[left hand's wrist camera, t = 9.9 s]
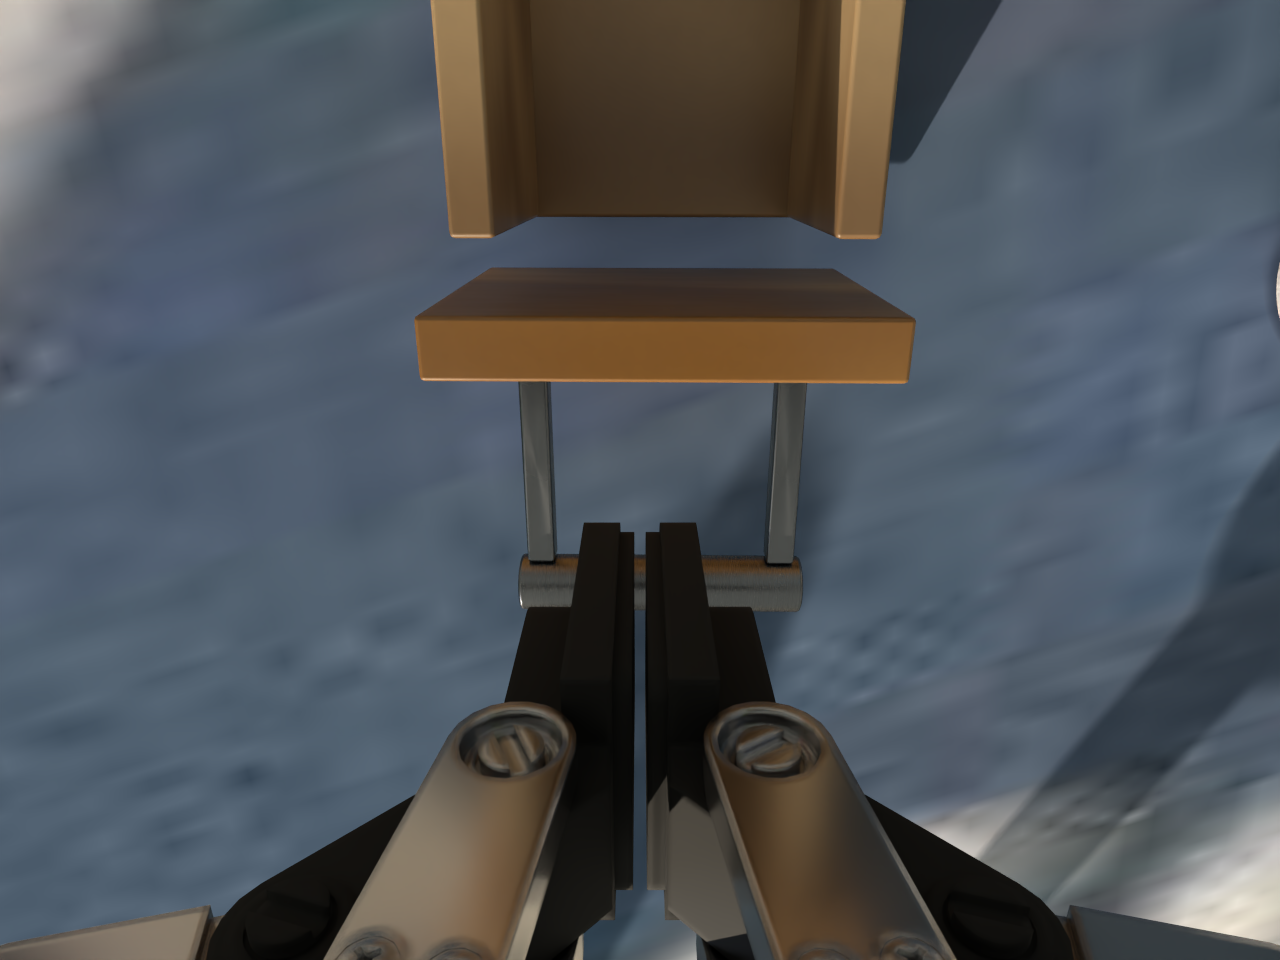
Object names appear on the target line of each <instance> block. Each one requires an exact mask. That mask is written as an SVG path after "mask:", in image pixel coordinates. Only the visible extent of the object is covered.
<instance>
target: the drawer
mask: <svg viewBox="0 0 1280 960" xmlns="http://www.w3.org/2000/svg"><path fill="white" fill-rule="evenodd" d="M905 6H906V0H431V10H432V23H433V35H434V47H435V60H436V72H437V84H438V97H439V109H440V121H441V133H442V146H443V158H444V170H445V183H446V195H447V207H448V220H449V232H450V235H451V237H454V238H492V237H494V236H496V235H498V234H501V233H503V232H505V231H507V230H509V229H511V228H513V227H515V226H518V225H520V224H522V223H524V222H526V221H528V220H530V219H533V218H535V217H790V218H793V219H795V220H797V221H800V222H802V223H804V224H807V225H809V226H811V227H814V228H816V229H818V230H821V231H823V232H825V233H828V234H830V235H832V236H835V237H837V238H839V239H877V238H879V237H880V236H881V234H882V226H883V216H884V207H885V197H886V188H887V178H888V169H889V159H890V149H891V140H892V130H893V121H894V111H895V102H896V92H897V82H898V73H899V63H900V54H901V44H902V34H903V25H904V15H905ZM414 322H415V332H416V341H417V351H418V361H419V371H420V377H421V379H422V380H424V381H518V383H519V401H520V419H521V437H522V455H523V473H524V492H525V510H526V528H527V546H528V554H524V555H523V556H522V558H521V562H520V567H519V578H518V592H519V601H520V605H521V607H522V608H523V609H528V608H529V607H571V604H572V597H573V591H574V584H575V578H576V571H577V565H578V558H579V554H556V552H557V530H556V505H555V481H554V456H553V431H552V406H551V382H736V383H774V393H773V409H772V425H771V441H770V457H769V473H768V489H767V505H766V521H765V537H764V555H765V556H730V555H701V558H702V565H703V571H704V578H705V584H706V591H707V597H708V604H709V607H751V608H752V610H753V611H762V612H797V611H799V610H800V607H801V603H802V596H803V576H802V567H801V563H800V560H799V558H798V557H796V556H794V545H795V532H796V519H797V506H798V493H799V480H800V467H801V455H802V442H803V429H804V416H805V403H806V390H807V383H906V382H908V380H909V374H910V366H911V358H912V350H913V342H914V334H915V326H916V321H915V319H914V318H913V317H911V316H910V315H908V314H906V313H905V312H903V311H901V310H900V309H898V308H897V307H895V306H893V305H892V304H890V303H888V302H887V301H885V300H883V299H882V298H880V297H879V296H877V295H875V294H874V293H872V292H870V291H869V290H867V289H866V288H864V287H862V286H861V285H859V284H857V283H856V282H854V281H852V280H851V279H849V278H848V277H846V276H844V275H843V274H841V273H839V272H838V271H836V270H834V269H762V268H490V269H488V270H487V271H485V272H484V273H482V274H481V275H479V276H478V277H476V278H474V279H473V280H471V281H470V282H468V283H467V284H465V285H464V286H462V287H461V288H459V289H457V290H456V291H454V292H453V293H451V294H450V295H448V296H447V297H445V298H444V299H442V300H441V301H439V302H437V303H436V304H434V305H433V306H431V307H430V308H428V309H427V310H425V311H424V312H422V313H420V314H419V315H417V316H416V317H415V320H414ZM550 381H551V382H550ZM634 610H646V555H634Z"/></svg>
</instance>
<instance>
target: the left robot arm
mask: <svg viewBox="0 0 1280 960" xmlns="http://www.w3.org/2000/svg"><path fill="white" fill-rule="evenodd" d="M634 721H635V618H634V532H620V523H584V525H583V532H582V538H581V545H580V552H579V558H578V565H577V571H576V578H575V584H574V591H573V597H572V604H571V607H529V608H528V610H527V613H526V617H525V621H524V626H523V630H522V634H521V638H520V642H519V646H518V650H517V654H516V658H515V662H514V666H513V670H512V674H511V678H510V682H509V686H508V690H507V694H506V698H505V702H504V703H501V704H496V705H491V706H489V707H486V708H484V709H481V710H479V711H476V712H474V713H472V714H471V715H469V716H468V717H467V718H465V719H464V720H462V721H461V722H459V723H458V724H457V726H456V727H455V728H454V729H453V731H452V732H451V733H450V734H449V736H448V737H447V739H446V741H445V743H444V745H443V746H442V748H441V750H440V752H439V754H438V755H437V757H436V759H435V761H434V763H433V764H432V766H431V768H430V770H429V771H428V773H427V775H426V777H425V779H424V780H423V782H422V784H421V786H420V788H419V789H418V791H417V793H416V794H415V795H414V796H412V797H410V798H408V799H407V800H405V801H403V802H401V803H400V804H398V805H396V806H395V807H393V808H391V809H389V810H388V811H386V812H384V813H382V814H381V815H379V816H377V817H376V818H374V819H372V820H370V821H369V822H367V823H365V824H363V825H362V826H360V827H358V828H357V829H355V830H353V831H351V832H350V833H348V834H346V835H344V836H343V837H341V838H339V839H337V840H336V841H334V842H332V843H331V844H329V845H327V846H325V847H324V848H322V849H320V850H318V851H317V852H315V853H313V854H312V855H310V856H308V857H306V858H305V859H303V860H301V861H299V862H298V863H296V864H294V865H293V866H291V867H289V868H287V869H286V870H284V871H282V872H280V873H279V874H277V875H275V876H274V877H272V878H270V879H268V880H267V881H265V882H263V883H261V884H260V885H259V886H257V887H256V888H254V889H253V890H252V891H250V892H249V893H247V894H246V895H245V896H243V897H242V898H240V899H239V900H238V901H237V902H236V903H235V904H234V906H233V907H232V908H231V909H230V910H229V911H228V912H227V913H226V914H225V915H223V916H218V917H213V914H212V910H211V906H210V905H207V906H202V907H196V908H191V909H186V910H180V911H175V912H170V913H165V914H159V915H154V916H149V917H143V918H138V919H133V920H127V921H122V922H117V923H112V924H106V925H101V926H96V927H90V928H85V929H80V930H74V931H69V932H64V933H59V934H53V935H48V936H43V937H37V938H32V939H27V940H21V941H16V942H11V943H7V944H4V945H1V946H0V960H583V949H584V935H583V933H585V932H586V931H587V930H588V929H589V928H591V927H592V926H593V925H594V924H595V923H597V922H598V921H599V920H615V899H616V890H633V823H634ZM645 721H646V824H647V890H664V899H665V920H681V921H682V922H683V923H685V924H686V925H687V926H688V927H689V928H691V929H692V930H693V931H694V932H695V933H697V935H696V949H697V960H1280V946H1279V945H1276V944H1273V943H1269V942H1264V941H1259V940H1253V939H1248V938H1243V937H1237V936H1232V935H1227V934H1221V933H1216V932H1211V931H1206V930H1200V929H1195V928H1190V927H1184V926H1179V925H1174V924H1168V923H1163V922H1158V921H1153V920H1147V919H1142V918H1137V917H1131V916H1126V915H1121V914H1115V913H1110V912H1105V911H1100V910H1094V909H1089V908H1084V907H1078V906H1073V905H1070V906H1069V910H1068V914H1067V917H1062V916H1057V915H1055V914H1054V913H1053V912H1052V911H1051V910H1050V909H1049V908H1048V907H1047V906H1046V904H1045V903H1044V902H1043V901H1042V900H1041V899H1040V898H1038V897H1037V896H1035V895H1034V894H1033V893H1031V892H1030V891H1028V890H1027V889H1026V888H1024V887H1023V886H1021V885H1020V884H1019V883H1017V882H1015V881H1013V880H1012V879H1010V878H1008V877H1006V876H1005V875H1003V874H1001V873H1000V872H998V871H996V870H994V869H993V868H991V867H989V866H987V865H986V864H984V863H982V862H981V861H979V860H977V859H975V858H974V857H972V856H970V855H968V854H967V853H965V852H963V851H962V850H960V849H958V848H956V847H955V846H953V845H951V844H949V843H948V842H946V841H944V840H943V839H941V838H939V837H937V836H936V835H934V834H932V833H930V832H929V831H927V830H925V829H923V828H922V827H920V826H918V825H917V824H915V823H913V822H911V821H910V820H908V819H906V818H904V817H903V816H901V815H899V814H898V813H896V812H894V811H892V810H891V809H889V808H887V807H885V806H884V805H882V804H880V803H879V802H877V801H875V800H873V799H872V798H870V797H868V796H866V795H865V794H864V793H863V791H862V789H861V788H860V786H859V784H858V782H857V780H856V779H855V777H854V775H853V773H852V771H851V770H850V768H849V766H848V764H847V763H846V761H845V759H844V757H843V755H842V754H841V752H840V750H839V748H838V746H837V745H836V743H835V741H834V739H833V737H832V736H831V734H830V733H829V732H828V731H827V729H826V728H825V727H824V726H823V724H822V723H821V722H819V721H818V720H816V719H815V718H813V717H812V716H811V715H809V714H808V713H806V712H804V711H801V710H799V709H796V708H794V707H791V706H789V705H784V704H779V703H776V702H775V698H774V694H773V690H772V686H771V682H770V678H769V674H768V670H767V666H766V662H765V658H764V654H763V650H762V646H761V642H760V638H759V634H758V630H757V626H756V621H755V617H754V613H753V610H752V608H751V607H709V604H708V597H707V591H706V584H705V578H704V571H703V565H702V558H701V552H700V545H699V539H698V532H697V525H696V523H660V532H646V617H645Z"/></svg>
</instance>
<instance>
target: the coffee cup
mask: <svg viewBox="0 0 1280 960" xmlns="http://www.w3.org/2000/svg"><path fill="white" fill-rule="evenodd" d="M1276 295H1277V306H1278V313H1279V316H1280V264H1279V270H1278V276H1277V291H1276Z"/></svg>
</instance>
